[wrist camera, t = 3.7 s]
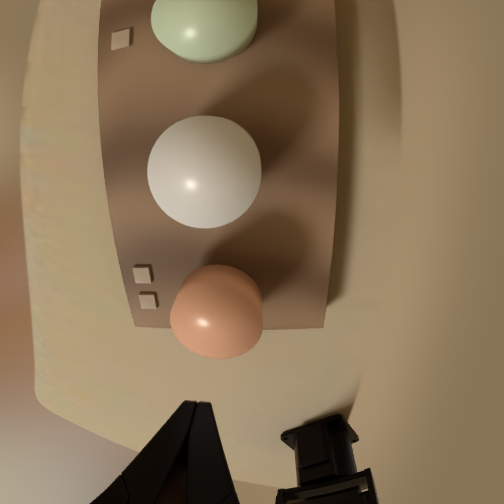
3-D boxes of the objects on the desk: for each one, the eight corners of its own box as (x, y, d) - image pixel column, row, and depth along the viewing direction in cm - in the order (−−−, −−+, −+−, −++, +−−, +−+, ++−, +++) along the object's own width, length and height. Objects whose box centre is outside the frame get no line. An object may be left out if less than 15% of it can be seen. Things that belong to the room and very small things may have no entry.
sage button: (258, 61, 12) (258, 52, 10) (163, 69, 12) (150, 62, 10) (256, -16, 10) (256, -34, 8) (165, -7, 10) (153, -22, 8)
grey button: (261, 212, 14) (262, 227, 12) (166, 214, 14) (153, 229, 12) (259, 114, 12) (260, 113, 10) (158, 120, 12) (143, 121, 10)
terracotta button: (262, 334, 17) (262, 358, 15) (184, 333, 17) (177, 357, 15) (261, 264, 15) (262, 285, 13) (173, 264, 15) (162, 285, 13)
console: (319, 313, 20) (323, 329, 18) (141, 313, 20) (134, 328, 18) (326, -10, 11) (333, -22, 10) (112, 7, 12) (99, -1, 10)
